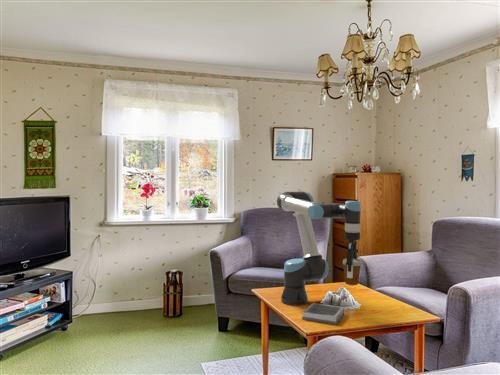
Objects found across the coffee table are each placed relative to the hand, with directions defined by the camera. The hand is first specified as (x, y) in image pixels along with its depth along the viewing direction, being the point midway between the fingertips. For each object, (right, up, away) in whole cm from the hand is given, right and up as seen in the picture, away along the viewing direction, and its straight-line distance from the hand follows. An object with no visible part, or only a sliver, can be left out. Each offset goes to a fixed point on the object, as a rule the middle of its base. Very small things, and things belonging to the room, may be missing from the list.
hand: (351, 275), depth 204 cm
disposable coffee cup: (0, -4, 0) cm, 4 cm away
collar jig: (-15, -20, -2) cm, 25 cm away
